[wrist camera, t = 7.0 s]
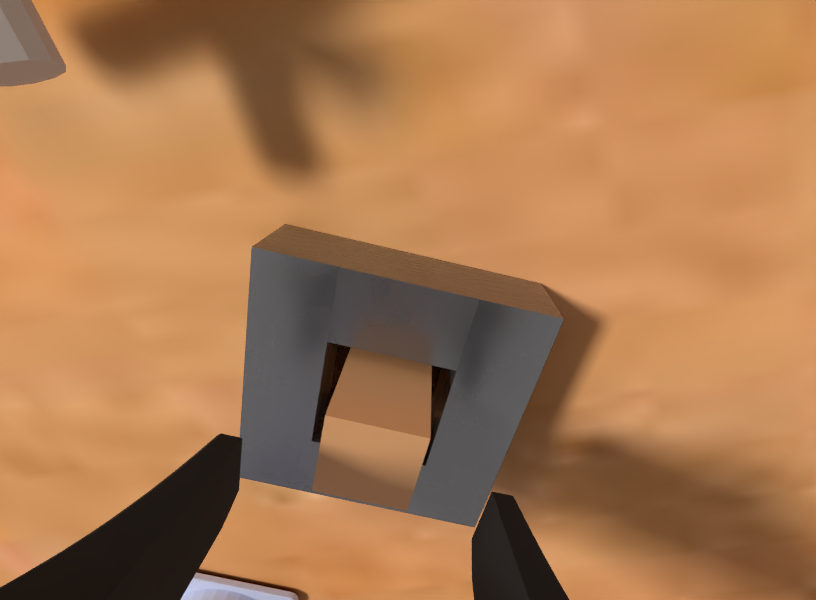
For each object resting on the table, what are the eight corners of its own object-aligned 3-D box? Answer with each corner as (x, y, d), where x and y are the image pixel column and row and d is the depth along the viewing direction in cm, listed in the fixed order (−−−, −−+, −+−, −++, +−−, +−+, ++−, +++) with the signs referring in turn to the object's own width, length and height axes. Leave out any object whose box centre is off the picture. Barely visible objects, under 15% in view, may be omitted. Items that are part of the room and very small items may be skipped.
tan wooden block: (416, 392, 18) (407, 511, 13) (350, 377, 18) (311, 490, 12) (432, 335, 17) (430, 438, 11) (361, 318, 17) (325, 415, 11)
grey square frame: (469, 470, 20) (474, 527, 17) (265, 426, 19) (237, 476, 17) (541, 283, 16) (564, 318, 13) (284, 224, 15) (251, 246, 13)
